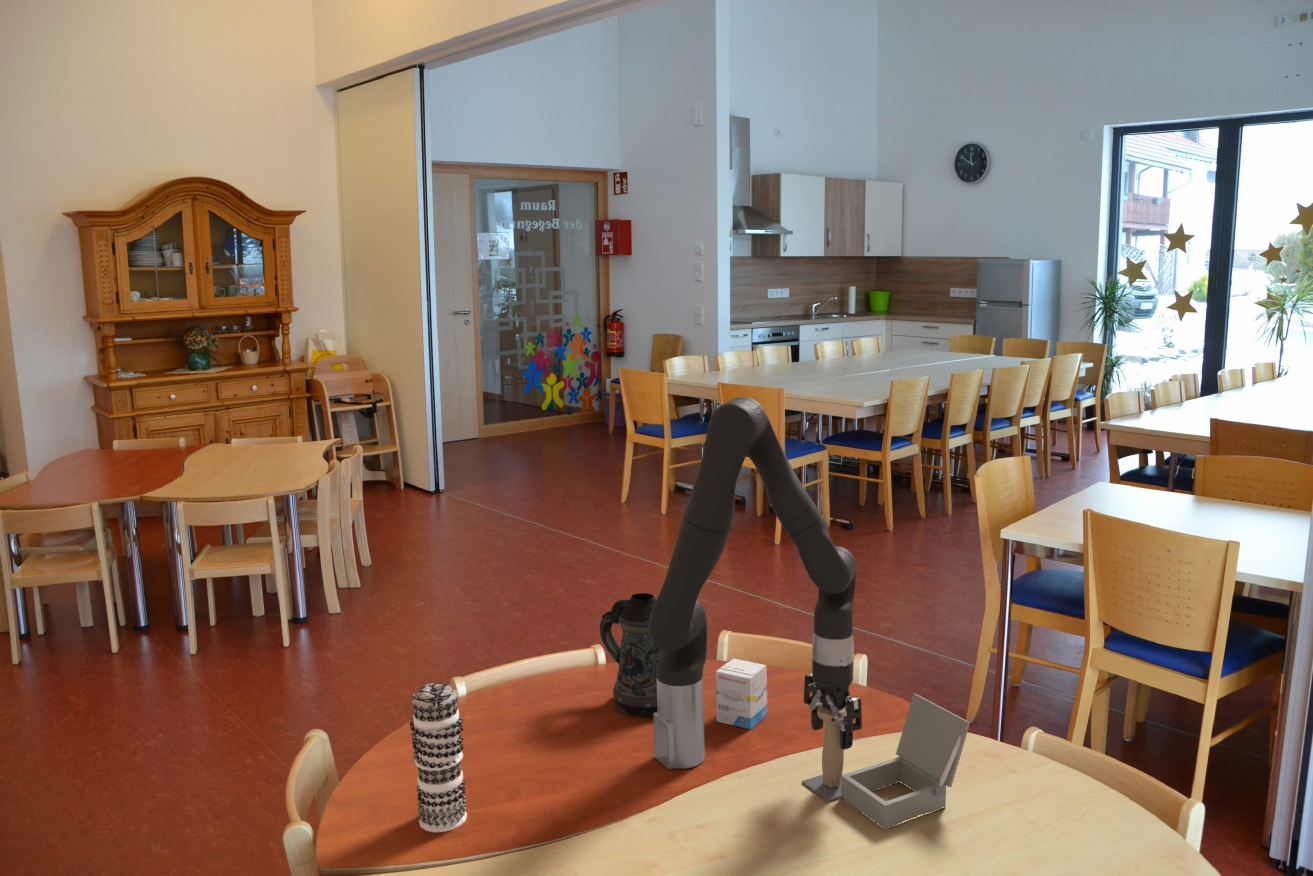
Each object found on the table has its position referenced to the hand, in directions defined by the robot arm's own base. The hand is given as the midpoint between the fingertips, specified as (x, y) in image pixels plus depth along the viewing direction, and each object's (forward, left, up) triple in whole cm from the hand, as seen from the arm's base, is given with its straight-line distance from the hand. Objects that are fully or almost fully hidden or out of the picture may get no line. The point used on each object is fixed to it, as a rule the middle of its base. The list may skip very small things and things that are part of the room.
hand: (831, 738), depth 183 cm
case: (+8, -10, -10) cm, 16 cm away
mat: (0, 0, -10) cm, 10 cm away
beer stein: (-14, +51, -10) cm, 54 cm away
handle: (0, 0, -9) cm, 9 cm away
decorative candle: (-67, +26, -10) cm, 72 cm away
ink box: (+1, +33, -10) cm, 34 cm away
